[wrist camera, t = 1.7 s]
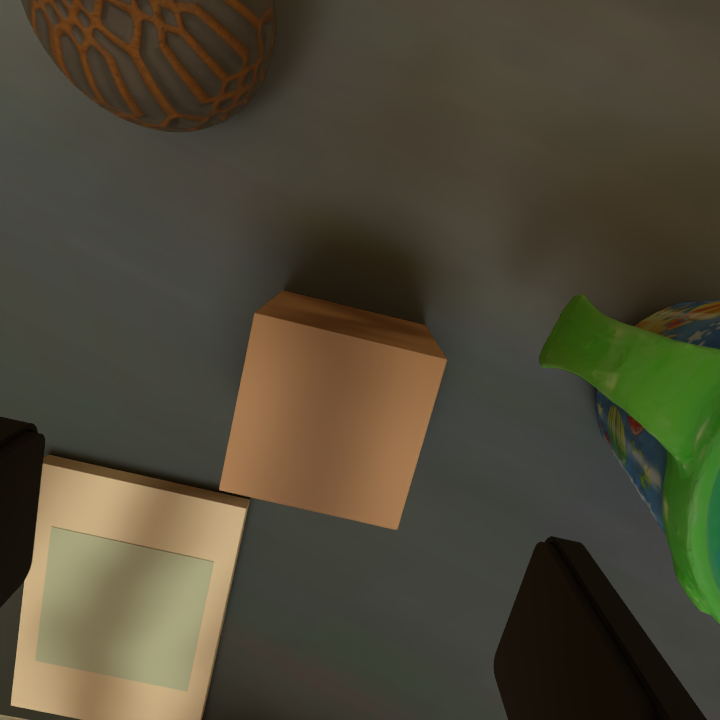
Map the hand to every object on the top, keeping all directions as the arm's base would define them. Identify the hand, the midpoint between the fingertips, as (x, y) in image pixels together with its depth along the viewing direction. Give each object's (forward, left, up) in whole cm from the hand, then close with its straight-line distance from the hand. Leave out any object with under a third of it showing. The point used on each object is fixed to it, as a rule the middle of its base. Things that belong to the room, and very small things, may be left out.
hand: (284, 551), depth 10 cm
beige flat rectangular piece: (+7, +13, -13) cm, 20 cm away
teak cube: (0, 0, -13) cm, 13 cm away
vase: (+8, -11, -13) cm, 19 cm away
